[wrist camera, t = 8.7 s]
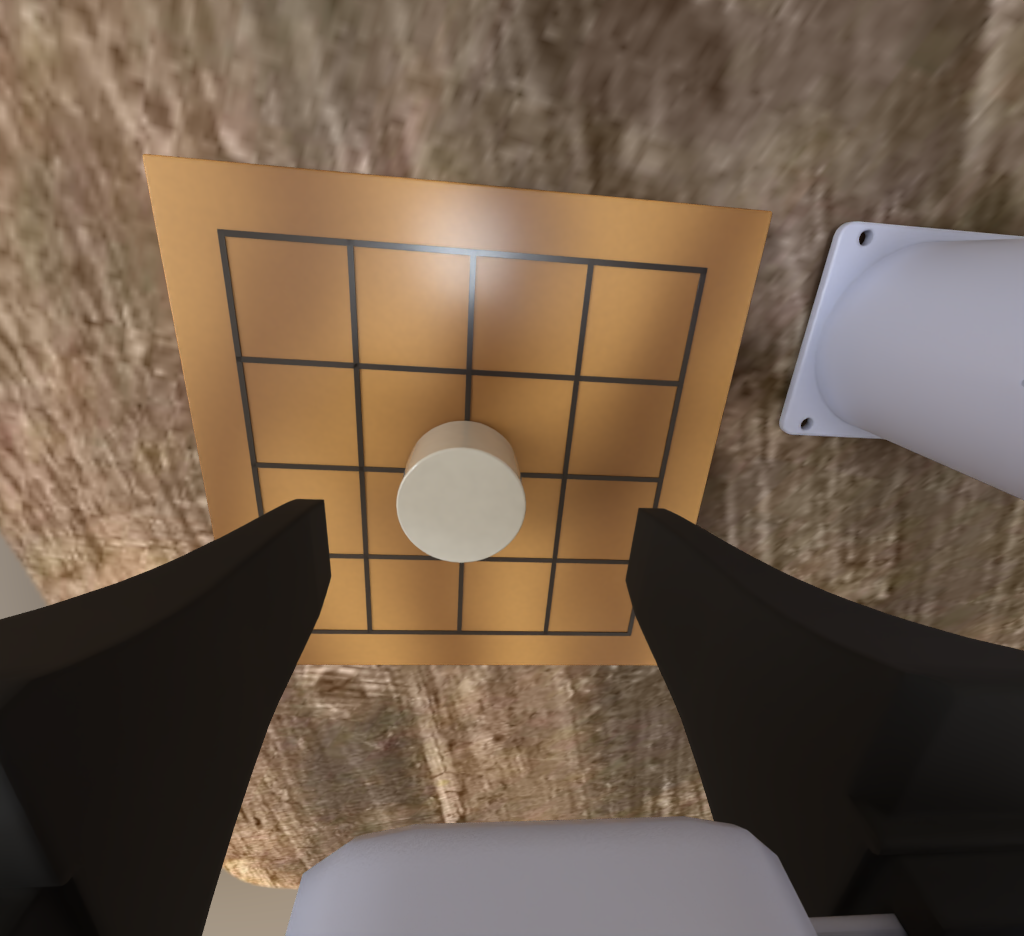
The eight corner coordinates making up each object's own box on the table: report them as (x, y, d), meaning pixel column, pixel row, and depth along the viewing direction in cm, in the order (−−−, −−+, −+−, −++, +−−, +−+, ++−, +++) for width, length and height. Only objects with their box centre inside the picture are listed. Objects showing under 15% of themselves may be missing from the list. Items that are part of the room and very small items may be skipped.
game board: (755, 214, 18) (775, 211, 16) (653, 648, 25) (662, 667, 24) (163, 160, 16) (139, 152, 15) (248, 646, 23) (236, 666, 22)
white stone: (523, 422, 19) (531, 451, 16) (515, 523, 20) (521, 565, 18) (406, 417, 18) (394, 445, 16) (407, 520, 20) (396, 562, 17)
